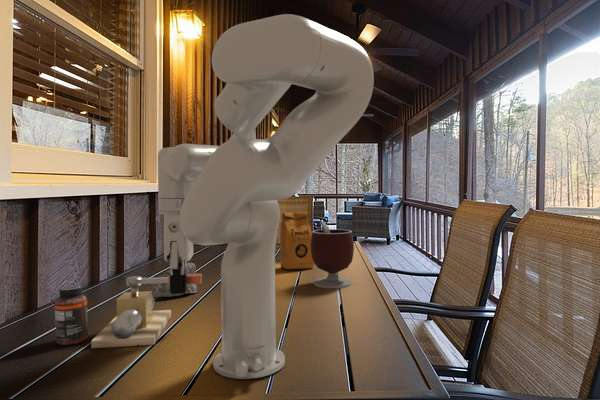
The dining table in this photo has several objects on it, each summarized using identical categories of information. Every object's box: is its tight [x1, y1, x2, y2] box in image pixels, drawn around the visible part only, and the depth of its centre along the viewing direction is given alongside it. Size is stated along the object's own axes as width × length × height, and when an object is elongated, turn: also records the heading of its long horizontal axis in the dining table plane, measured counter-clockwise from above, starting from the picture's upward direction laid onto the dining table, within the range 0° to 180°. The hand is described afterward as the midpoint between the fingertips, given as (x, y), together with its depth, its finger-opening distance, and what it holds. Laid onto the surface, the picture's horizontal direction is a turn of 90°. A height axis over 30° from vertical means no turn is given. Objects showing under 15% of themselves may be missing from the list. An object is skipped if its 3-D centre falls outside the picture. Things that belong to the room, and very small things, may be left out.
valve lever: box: [126, 273, 203, 288], centre depth 93 cm, size 16×3×2 cm, turn 97°
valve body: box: [111, 286, 156, 339], centre depth 93 cm, size 19×6×8 cm, turn 7°
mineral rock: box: [152, 262, 199, 298], centre depth 123 cm, size 13×11×10 cm
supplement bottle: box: [54, 284, 89, 346], centre depth 87 cm, size 6×6×11 cm
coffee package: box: [279, 211, 315, 271], centre depth 161 cm, size 10×12×22 cm
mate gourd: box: [311, 220, 355, 289], centre depth 136 cm, size 16×14×20 cm
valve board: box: [90, 309, 172, 349], centre depth 93 cm, size 19×12×2 cm, turn 7°
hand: (178, 292), depth 89 cm, fingers closed
